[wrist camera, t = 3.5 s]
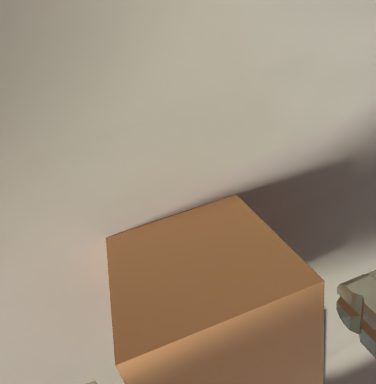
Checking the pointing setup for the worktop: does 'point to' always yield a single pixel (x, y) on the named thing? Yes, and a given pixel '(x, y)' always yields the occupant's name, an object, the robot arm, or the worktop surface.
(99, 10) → the worktop surface
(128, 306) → the light orange cube
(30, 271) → the worktop surface
